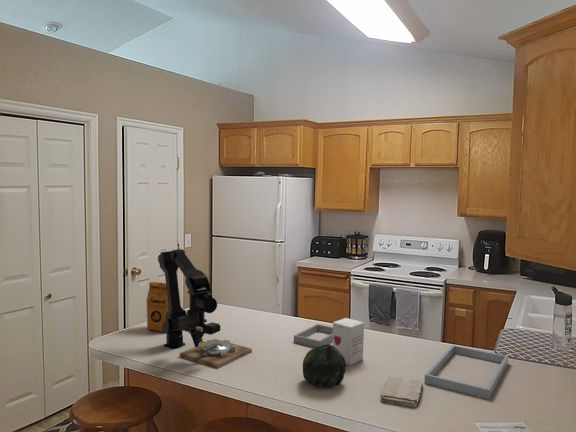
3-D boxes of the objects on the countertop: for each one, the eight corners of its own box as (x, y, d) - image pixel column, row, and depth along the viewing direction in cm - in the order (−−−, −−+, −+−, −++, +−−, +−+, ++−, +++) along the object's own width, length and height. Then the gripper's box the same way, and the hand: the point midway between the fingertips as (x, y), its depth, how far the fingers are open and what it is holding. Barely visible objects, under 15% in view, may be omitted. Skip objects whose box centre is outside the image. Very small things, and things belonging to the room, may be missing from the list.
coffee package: (166, 334, 212) (166, 286, 210) (143, 331, 216) (143, 283, 215) (179, 328, 221) (179, 281, 220) (157, 325, 226) (156, 279, 224)
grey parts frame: (293, 342, 204) (293, 335, 204) (317, 330, 221) (317, 323, 221) (320, 348, 197) (320, 341, 197) (342, 335, 214) (342, 329, 213)
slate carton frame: (424, 383, 165) (424, 374, 165) (452, 352, 195) (452, 344, 195) (489, 399, 154) (489, 390, 153) (507, 363, 184) (508, 356, 183)
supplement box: (331, 359, 186) (331, 321, 184) (344, 353, 192) (345, 317, 191) (350, 366, 179) (351, 327, 178) (363, 359, 186) (364, 322, 185)
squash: (302, 356, 174) (304, 335, 163) (343, 359, 173) (348, 338, 163) (301, 394, 164) (302, 375, 153) (344, 397, 164) (349, 378, 153)
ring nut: (186, 354, 184) (186, 337, 184) (214, 341, 199) (214, 325, 199) (215, 362, 177) (215, 344, 177) (242, 348, 192) (242, 331, 192)
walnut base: (179, 356, 186) (179, 352, 186) (214, 342, 203) (214, 338, 203) (218, 368, 175) (218, 364, 175) (251, 352, 192) (251, 348, 192)
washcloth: (379, 403, 151) (379, 394, 150) (387, 381, 168) (388, 372, 167) (418, 410, 147) (418, 400, 146) (422, 386, 163) (423, 377, 163)
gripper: (163, 307, 179) (163, 348, 180) (202, 316, 170) (201, 358, 171) (183, 301, 189) (183, 340, 190) (221, 309, 180) (221, 349, 181)
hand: (196, 346), depth 183 cm, fingers closed
